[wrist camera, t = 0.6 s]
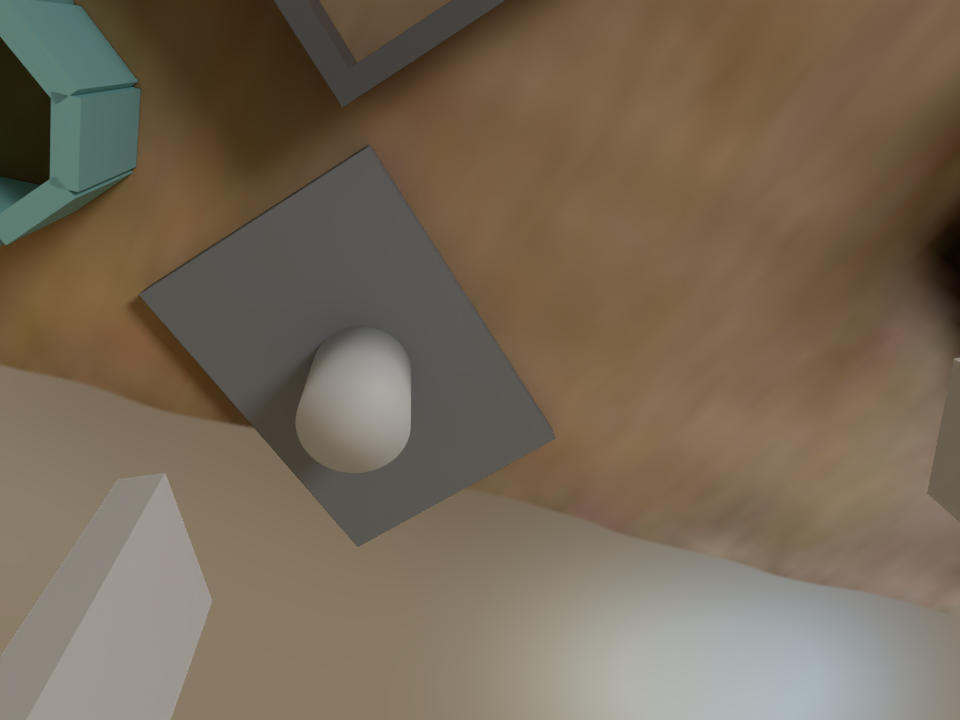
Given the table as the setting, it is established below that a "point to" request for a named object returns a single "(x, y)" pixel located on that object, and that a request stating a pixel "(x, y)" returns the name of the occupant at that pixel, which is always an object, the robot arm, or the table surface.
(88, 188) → the collar
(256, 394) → the stand
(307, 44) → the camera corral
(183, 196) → the table surface
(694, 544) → the table surface
